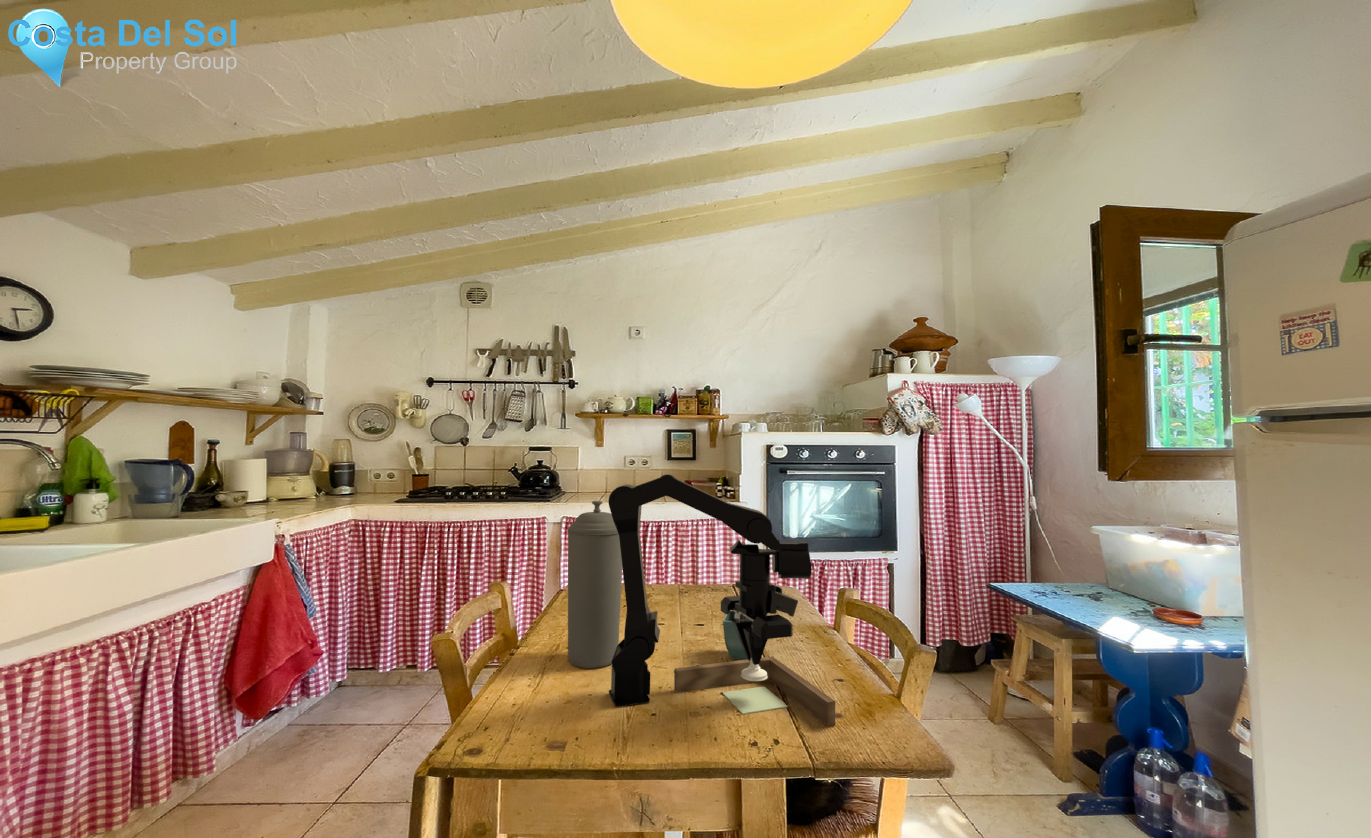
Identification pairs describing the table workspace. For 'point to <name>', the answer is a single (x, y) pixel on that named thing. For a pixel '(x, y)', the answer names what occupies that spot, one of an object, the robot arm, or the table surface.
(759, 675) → the chess piece
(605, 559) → the canister
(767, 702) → the pad
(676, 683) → the corner wall
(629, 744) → the table surface
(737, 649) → the flower pot
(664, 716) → the table surface
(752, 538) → the robot arm
